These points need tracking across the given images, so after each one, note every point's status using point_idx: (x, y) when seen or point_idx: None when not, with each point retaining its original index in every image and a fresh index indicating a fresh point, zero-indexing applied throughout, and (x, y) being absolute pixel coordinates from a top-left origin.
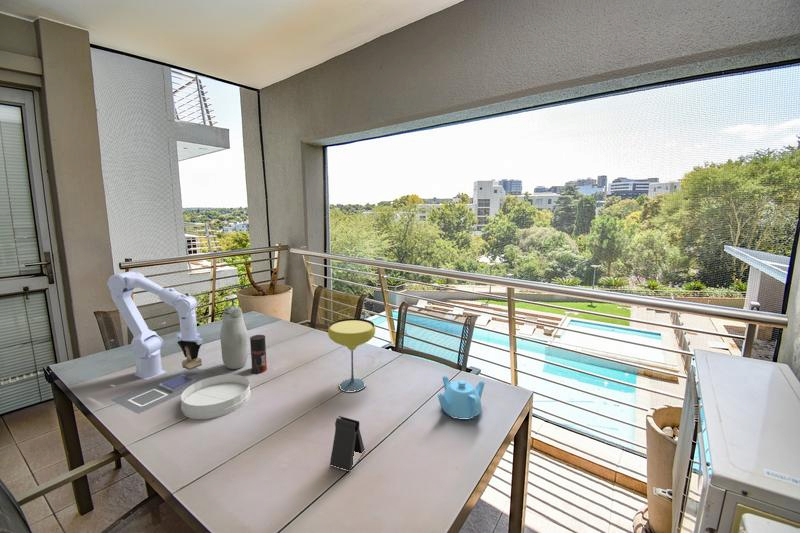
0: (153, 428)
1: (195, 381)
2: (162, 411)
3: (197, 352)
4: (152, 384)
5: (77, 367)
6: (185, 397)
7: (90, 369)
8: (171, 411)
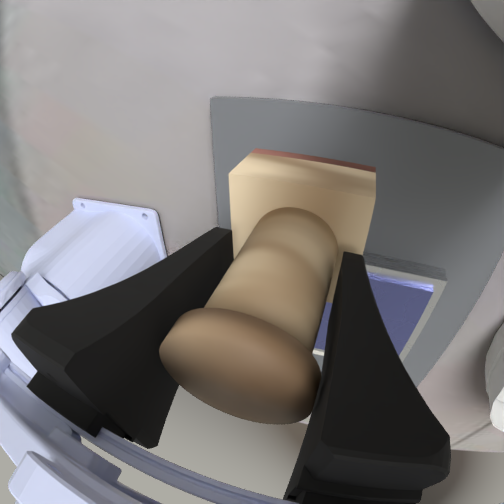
0: (463, 428)
1: (444, 277)
2: (441, 402)
3: (368, 309)
4: None
5: (3, 258)
6: (487, 381)
7: (16, 260)
8: (467, 397)
